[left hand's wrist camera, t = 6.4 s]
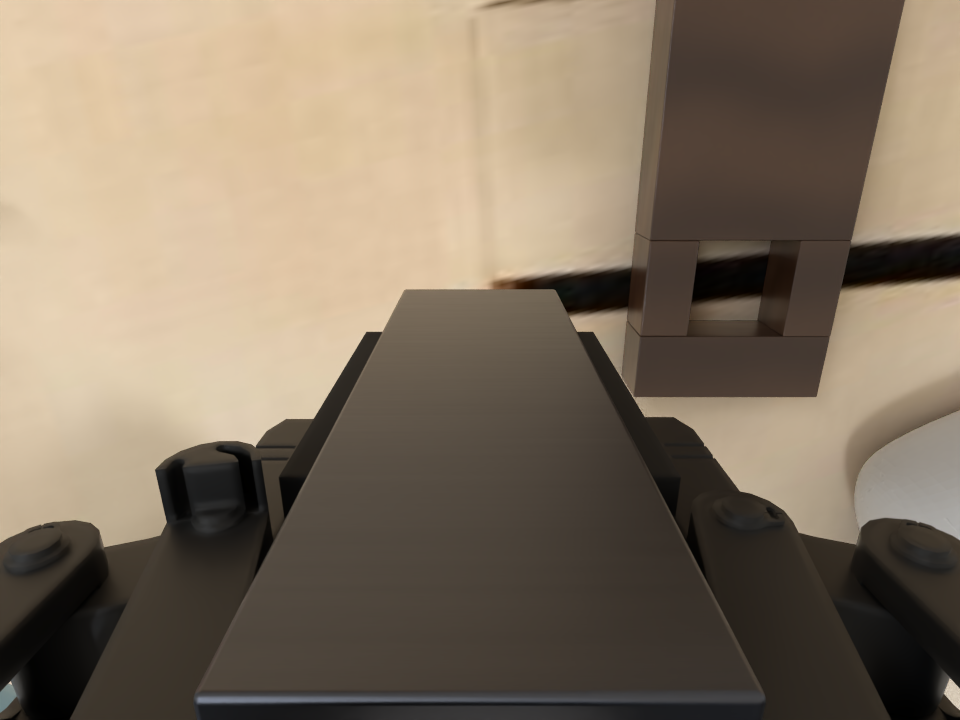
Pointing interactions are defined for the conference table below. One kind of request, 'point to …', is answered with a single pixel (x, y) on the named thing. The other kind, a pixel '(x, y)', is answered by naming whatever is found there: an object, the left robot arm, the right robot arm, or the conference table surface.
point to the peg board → (752, 184)
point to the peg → (479, 547)
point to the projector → (915, 478)
